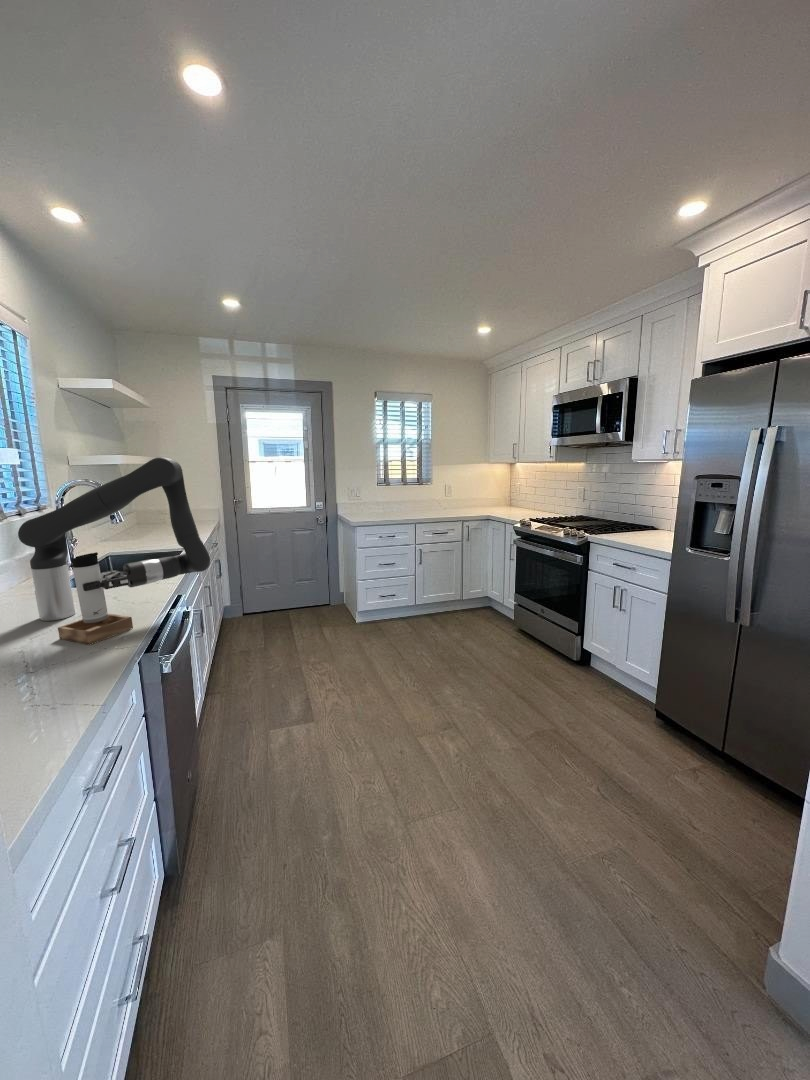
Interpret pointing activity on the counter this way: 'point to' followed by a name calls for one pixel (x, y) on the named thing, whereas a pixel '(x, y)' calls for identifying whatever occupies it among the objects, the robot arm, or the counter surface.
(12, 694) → the counter surface
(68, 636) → the walnut caddy
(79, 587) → the travel mug
